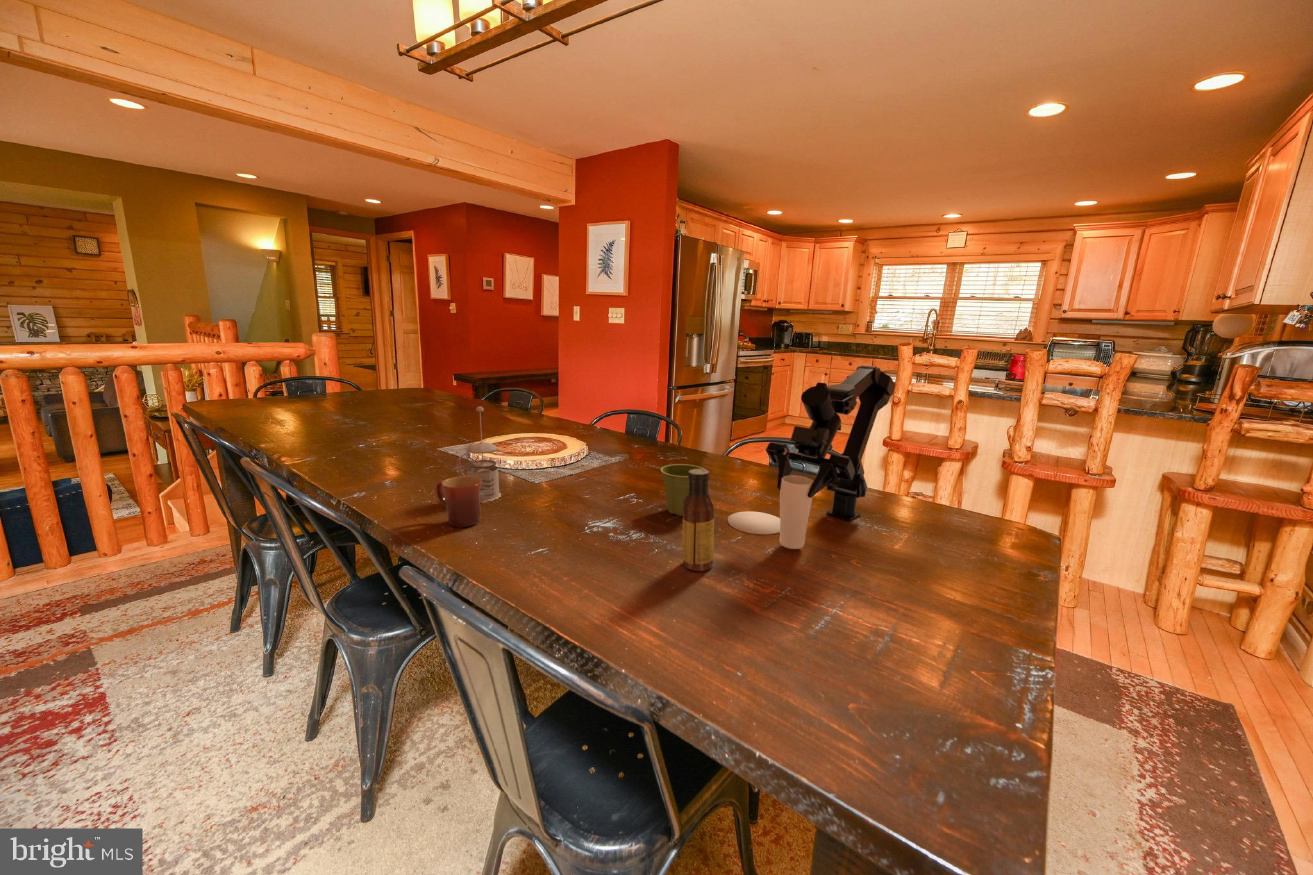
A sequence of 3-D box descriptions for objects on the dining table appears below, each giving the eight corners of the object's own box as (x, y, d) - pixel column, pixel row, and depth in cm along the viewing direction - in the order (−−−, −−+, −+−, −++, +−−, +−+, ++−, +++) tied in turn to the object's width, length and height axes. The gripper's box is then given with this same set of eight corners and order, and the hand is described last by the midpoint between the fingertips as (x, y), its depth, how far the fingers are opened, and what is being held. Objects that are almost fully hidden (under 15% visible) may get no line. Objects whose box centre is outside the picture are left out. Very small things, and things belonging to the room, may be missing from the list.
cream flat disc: (750, 508, 133) (750, 507, 133) (796, 524, 123) (796, 523, 123) (716, 521, 124) (716, 519, 124) (762, 539, 114) (762, 538, 114)
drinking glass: (804, 539, 113) (810, 475, 109) (810, 552, 106) (817, 485, 103) (774, 537, 113) (779, 474, 110) (777, 550, 107) (783, 483, 103)
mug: (491, 519, 120) (490, 479, 118) (465, 533, 112) (463, 489, 110) (453, 511, 125) (450, 472, 122) (425, 523, 117) (422, 482, 115)
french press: (496, 504, 130) (492, 410, 125) (452, 503, 130) (446, 408, 125) (507, 492, 140) (504, 404, 134) (466, 490, 140) (461, 402, 134)
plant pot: (714, 514, 128) (716, 472, 126) (677, 523, 122) (678, 479, 119) (686, 500, 138) (687, 461, 135) (650, 508, 131) (651, 467, 129)
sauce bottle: (715, 561, 103) (721, 469, 98) (708, 575, 97) (714, 477, 92) (685, 556, 105) (689, 465, 100) (676, 569, 99) (680, 473, 94)
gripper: (772, 406, 112) (743, 463, 107) (856, 418, 100) (827, 483, 94) (786, 435, 120) (759, 489, 114) (865, 449, 107) (839, 511, 102)
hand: (793, 492), depth 106 cm, fingers closed on drinking glass, 7 cm apart
